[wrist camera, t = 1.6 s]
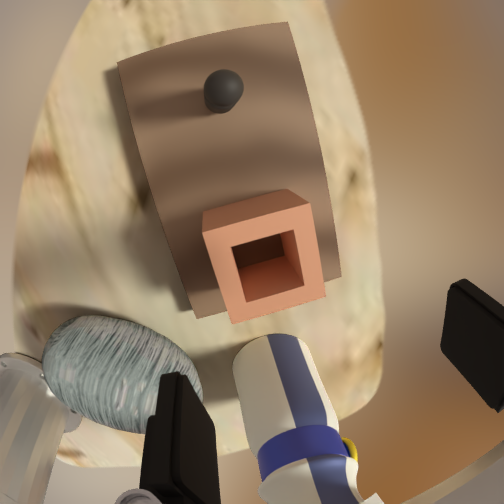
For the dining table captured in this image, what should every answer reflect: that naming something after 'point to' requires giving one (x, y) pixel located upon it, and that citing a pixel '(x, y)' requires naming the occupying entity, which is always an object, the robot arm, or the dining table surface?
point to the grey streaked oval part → (112, 369)
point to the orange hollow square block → (271, 271)
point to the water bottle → (293, 426)
